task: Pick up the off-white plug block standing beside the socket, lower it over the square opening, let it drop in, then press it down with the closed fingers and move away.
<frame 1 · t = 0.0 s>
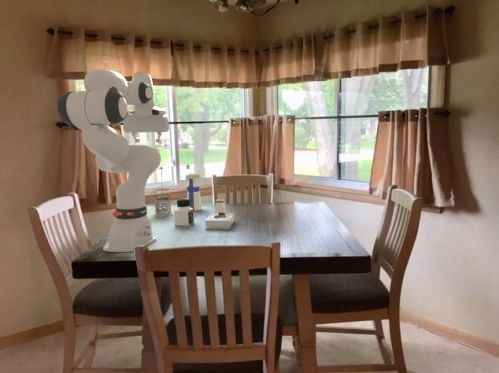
hand: (147, 142, 185), 39 cm above the table, tool pointing down, fingers open, 8 cm apart
medicine bottle: (184, 224, 195), on the table
socket: (220, 225, 191), on the table
french press: (161, 214, 215), on the table
plug: (220, 217, 206), on the table
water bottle: (193, 209, 227), on the table
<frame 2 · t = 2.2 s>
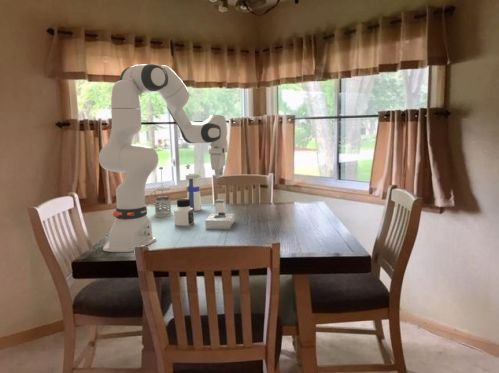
hand: (219, 176, 203), 21 cm above the table, tool pointing down, fingers open, 8 cm apart
nothing on the table moved.
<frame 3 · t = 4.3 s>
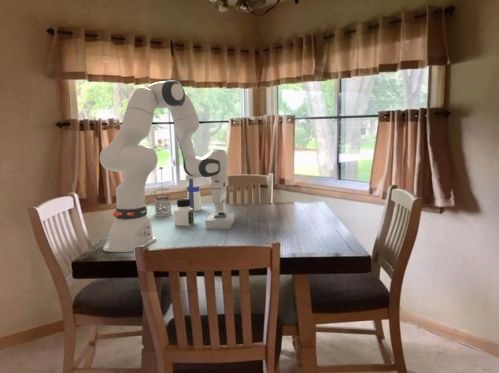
hand: (220, 209, 205), 4 cm above the table, tool pointing down, fingers closed on plug, 4 cm apart
plug: (220, 217, 206), on the table, touching gripper
everything else where it was.
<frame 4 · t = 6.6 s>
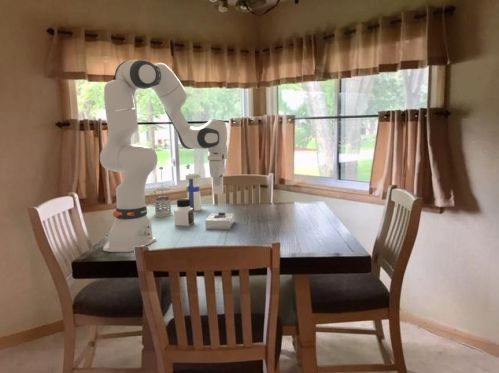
hand: (218, 184, 192), 18 cm above the table, tool pointing down, fingers closed on plug, 4 cm apart
plug: (218, 193, 193), point 14 cm above the table, touching gripper
everything else where it was.
when the fingers open (10 cm above the table, at t = 9.1 s): plug drops 4 cm, resting on socket.
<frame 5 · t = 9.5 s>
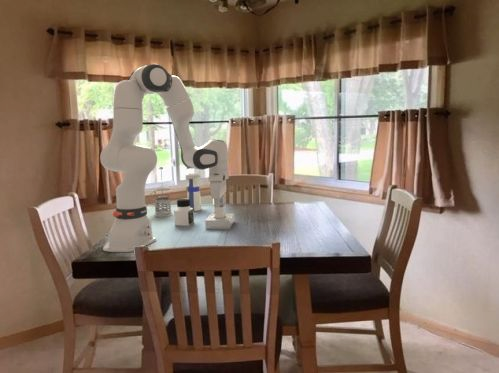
hand: (219, 205, 189), 10 cm above the table, tool pointing down, fingers open, 8 cm apart
plug: (220, 223, 191), point 1 cm above the table, touching socket
everything else where it was.
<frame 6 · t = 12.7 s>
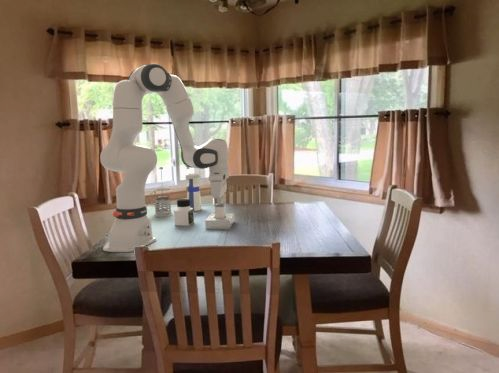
hand: (220, 204, 190), 10 cm above the table, tool pointing down, fingers closed, pressing on plug
plug: (220, 223, 191), point 1 cm above the table, touching gripper, socket
everything else where it was.
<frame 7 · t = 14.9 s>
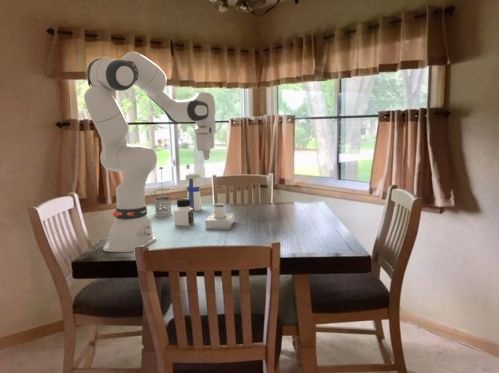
hand: (206, 159, 190), 30 cm above the table, tool pointing down, fingers closed
plug: (220, 223, 191), point 1 cm above the table, touching socket
everything else where it was.
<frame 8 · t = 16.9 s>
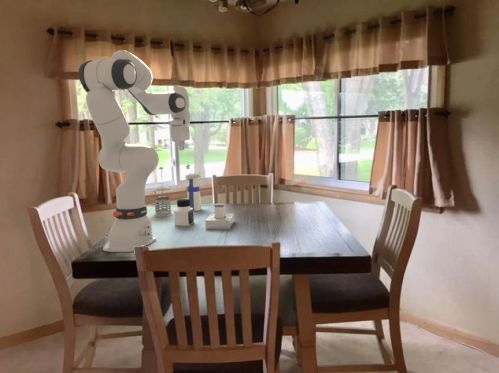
hand: (181, 150, 197), 34 cm above the table, tool pointing down, fingers closed
nothing on the table moved.
at the end: plug 0.1 cm off-centre on the socket, point 1.0 cm above the socket's base; plug tilted 0°; the gripper is holding nothing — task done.
